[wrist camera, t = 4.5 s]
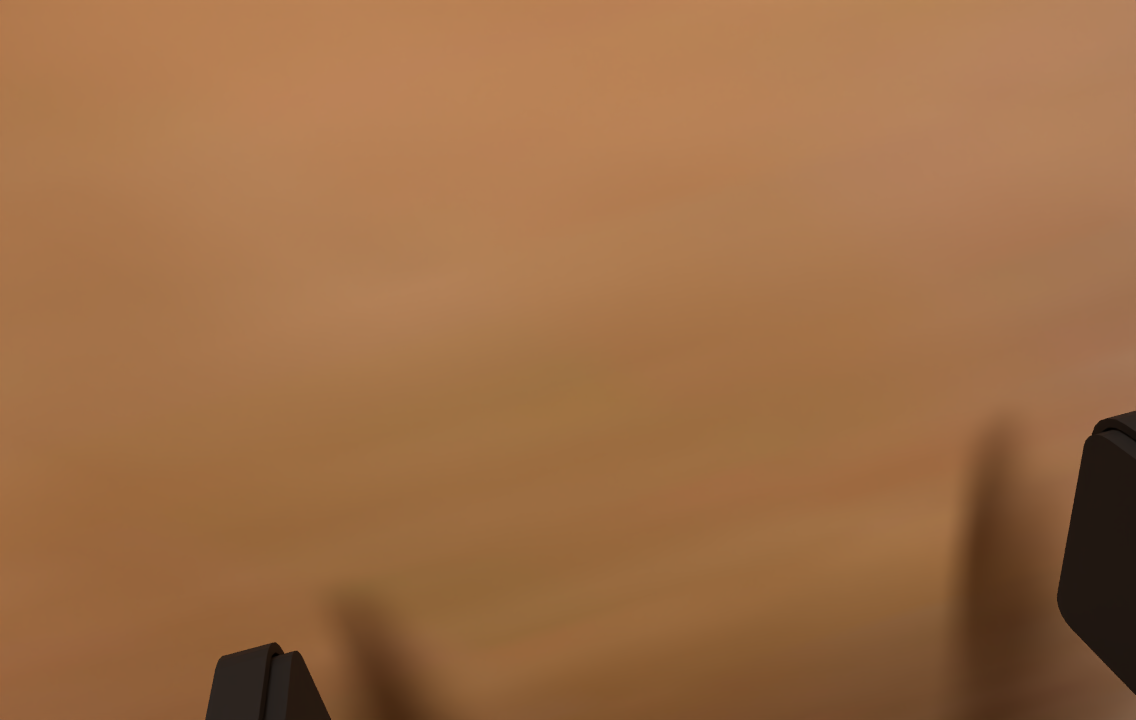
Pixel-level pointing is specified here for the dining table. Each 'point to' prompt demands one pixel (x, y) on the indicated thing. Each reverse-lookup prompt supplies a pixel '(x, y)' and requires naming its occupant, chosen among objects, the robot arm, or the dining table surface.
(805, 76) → the dining table surface
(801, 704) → the dining table surface
